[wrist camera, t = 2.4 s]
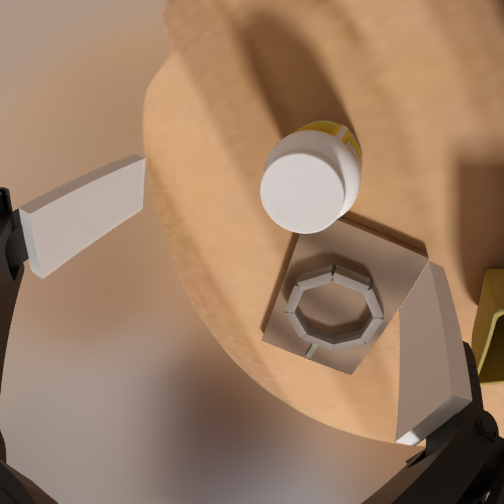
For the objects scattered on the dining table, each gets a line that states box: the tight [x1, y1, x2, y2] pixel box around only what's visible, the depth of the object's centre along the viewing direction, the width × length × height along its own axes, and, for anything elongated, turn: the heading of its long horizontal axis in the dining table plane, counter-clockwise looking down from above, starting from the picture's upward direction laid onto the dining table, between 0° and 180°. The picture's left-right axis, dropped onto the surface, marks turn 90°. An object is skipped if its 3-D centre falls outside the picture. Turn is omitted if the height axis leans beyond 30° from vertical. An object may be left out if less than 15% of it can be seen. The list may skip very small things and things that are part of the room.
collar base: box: [262, 217, 429, 375], centre depth 31 cm, size 18×12×2 cm, turn 167°
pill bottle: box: [260, 120, 362, 234], centre depth 21 cm, size 6×6×11 cm
